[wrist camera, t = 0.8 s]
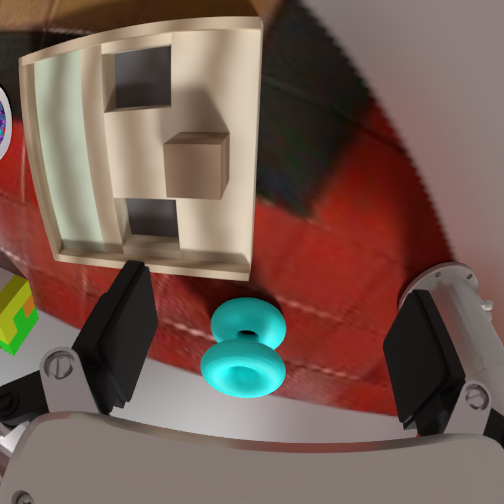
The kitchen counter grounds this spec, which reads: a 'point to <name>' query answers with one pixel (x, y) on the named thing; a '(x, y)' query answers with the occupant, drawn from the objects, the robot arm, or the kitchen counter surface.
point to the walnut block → (197, 165)
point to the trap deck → (144, 143)
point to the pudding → (4, 145)
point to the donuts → (245, 349)
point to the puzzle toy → (15, 311)
